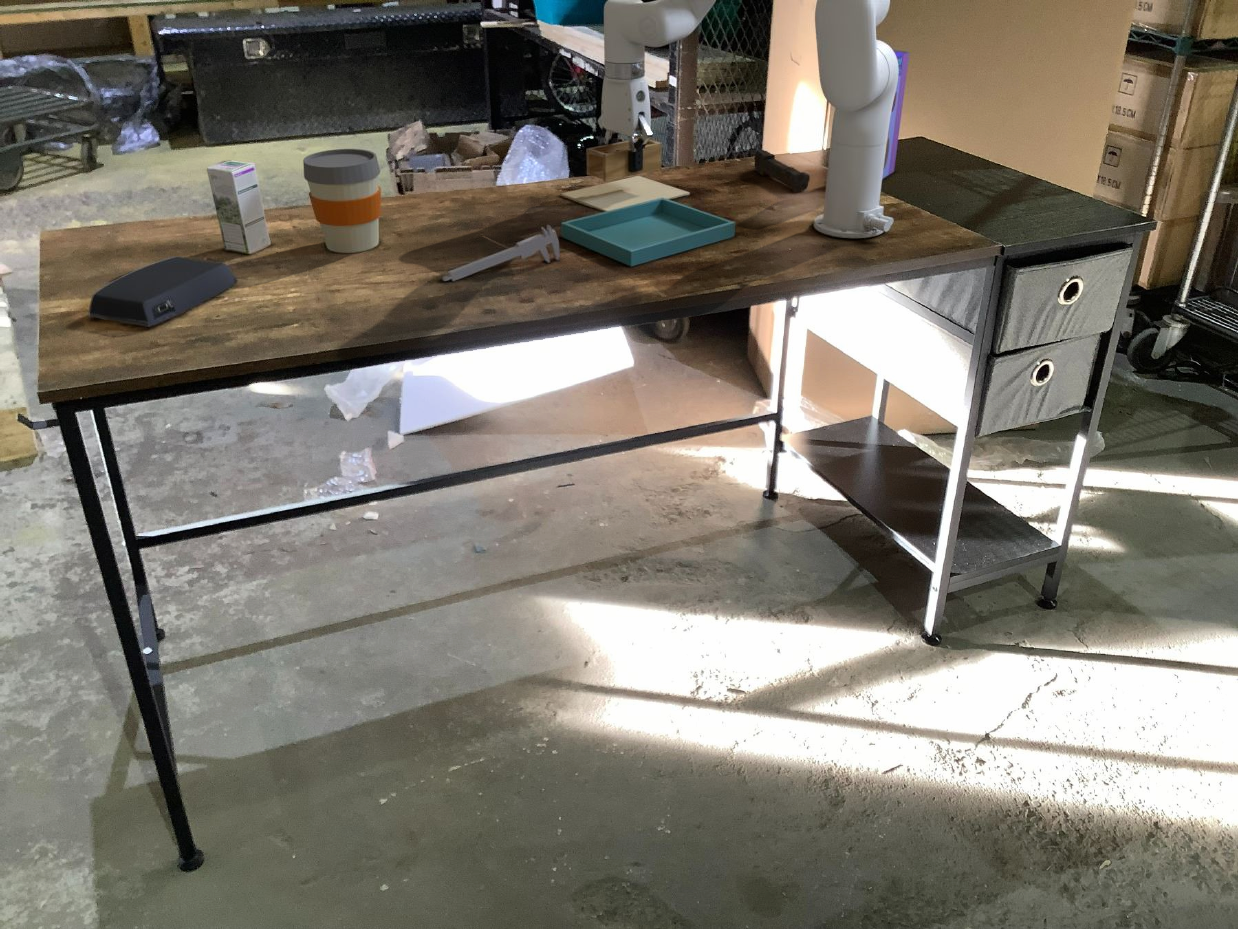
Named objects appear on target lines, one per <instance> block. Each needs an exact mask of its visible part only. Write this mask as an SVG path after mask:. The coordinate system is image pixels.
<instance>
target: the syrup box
mask: <svg viewBox="0 0 1238 929" xmlns="http://www.w3.org/2000/svg"><path fill="white" fill-rule="evenodd" d="M206 172H207V176H208V181H209V186H210V189H211V195H212V199H213V203H214V208H215V212H216V216H217V221H218V226H219V230H220V233H221V238H222V243H223V247H224V251H229V252H234V253H240V254H246V255H251V254H254V253H257V252H259V251H261V250H263V249H265V248H268V247H270V246H271V245H272V244H271V238H270V235H269V234H270V233H269V228H268V224H267V220H266V213H265V209H264V205H263V199H262V195H261V189H260V184H259V179H258V174H257V169H256V165H255V163H254V162H249V161H248V162H247V161H240V160H239V161H238V160H232V159H226V160H222V161H220V162H217V163H214V164H212V165H210V166H207V167H206Z"/></svg>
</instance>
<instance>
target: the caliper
mask: <svg viewBox="0 0 1238 929" xmlns="http://www.w3.org/2000/svg"><path fill="white" fill-rule="evenodd" d="M540 228H541V232H542V234H541V233H539V234H535V235H533V236H531V237H527V238H525V239H523V240H520V241H518V242H516V243H515V245H514V246H512V247H509V248H506V249H504V250H501V251H499V252H496V253H493V254H491V255H487V256H485V257H482V258H480V259H477V260H475V261H472V262H470V263H467V264H464V265H462V266H458V267H456V268H454V269H450V270H449V271H448V274H446V275H444V276H442V278H441V280H442V281H443V282H447V281H452V282H455V281H458V280H460V279H463V278H465V277H468V276H471V275H473V274H476V273H478V272H481V271H483V270H486V269H489V268H491V267H493V266H497V265H499V264H502V263H504V262H507V261H510V260H512V259H515V258H518V257H519V258H521V259H522V260H525V259H526V258H528V257H532V256H533V255H535V254H536V252H539V254H540V256H541V257H542V258H543V260H544V261H545V262H547V263H551V260H550V254H549V251H548V249H547V246H548V245H550V248H551V251H552V254H553V258H554V259H555V260H556V261H558V260H560V253H561V252H560V241H559V238H558V237H559V236H558V235H557V232H556V230H555V229H552V226H551V225H550V224H547V225H546V229H545V228H544V227H543V226H541V227H540Z"/></svg>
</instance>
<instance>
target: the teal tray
mask: <svg viewBox="0 0 1238 929" xmlns="http://www.w3.org/2000/svg"><path fill="white" fill-rule="evenodd" d="M560 229H561V230H560V232H561V233H560V234H561V238H563V239H566V240H567V241H570V242H572V243H574V244H577V245H579V246H582V247H585V248H587V249H588V250H591V251H594V252H596V253H597V254H601V255H603V256H606V257H608V258H610V259H612V260H614V261H617V262H620V263H621V264H625V265H627V266H629V267H634V266H638V265H642V264H645V263H649V262H651V261H655V260H660V259H662V258H666V257H669V256H672V255H676V254H679V253H683V252H686V251H689V250H692V249H696V248H700V247H703V246H706V245H710V244H713V243H717V242H720V241H724V240H727V239H731V238H735V235H736V234H735V232H736V222H735V221H732V220H729V219H726V218H724V217H720V216H718V215H715V214H712V213H709V212H706V211H703V210H700V209H697V208H695V207H691V206H688V205H685V204H682V203H680V202H677V201H674V200H672V199H669V200H668V199H665V198H659V199H655V200H651V201H647V202H643V203H639V204H635V205H631V206H627V207H623V208H619V209H615V210H611V211H607V212H604V211H602V212H599V213H595V214H591V215H586V216H583V217H578V218H575V219H570V220H567V221H563V222H561V223H560Z"/></svg>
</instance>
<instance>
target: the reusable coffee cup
mask: <svg viewBox="0 0 1238 929" xmlns="http://www.w3.org/2000/svg"><path fill="white" fill-rule="evenodd" d="M302 165H303V178H304V180H305V181H307V184H308V188H309V193H308V196H309V200H310V203H311V204H310V205H311V208H312V209H313V214H314V218H315V220H316V221H317V222H318V223H319V226H320V229H321V233H322V236H323V239H324V242H325V246H326V249H328V250H329V251H331V252H335V253H342V254H352V253H360V252H365V251H368V250H372V249H374V248H375V247H377V246H378V245H379V243H380V242H379V241H380V240H379V239H380V237H379V233H380V232H379V230H380V229H379V228H380V227H379V225H380V224H379V221H380V217H381V215H382V189H381V186H379V176H380V174H381V170H380V169H381V168H380V165H379V161H378V156H377V154H376V153H375V152H374V151H371V150H368V149H360V148H337V149H336V148H335V149H328V150H322V151H319V152H318V151H317V152H313V153H311V154H308V155H307V156H305V157H304V158H303V161H302Z"/></svg>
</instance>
